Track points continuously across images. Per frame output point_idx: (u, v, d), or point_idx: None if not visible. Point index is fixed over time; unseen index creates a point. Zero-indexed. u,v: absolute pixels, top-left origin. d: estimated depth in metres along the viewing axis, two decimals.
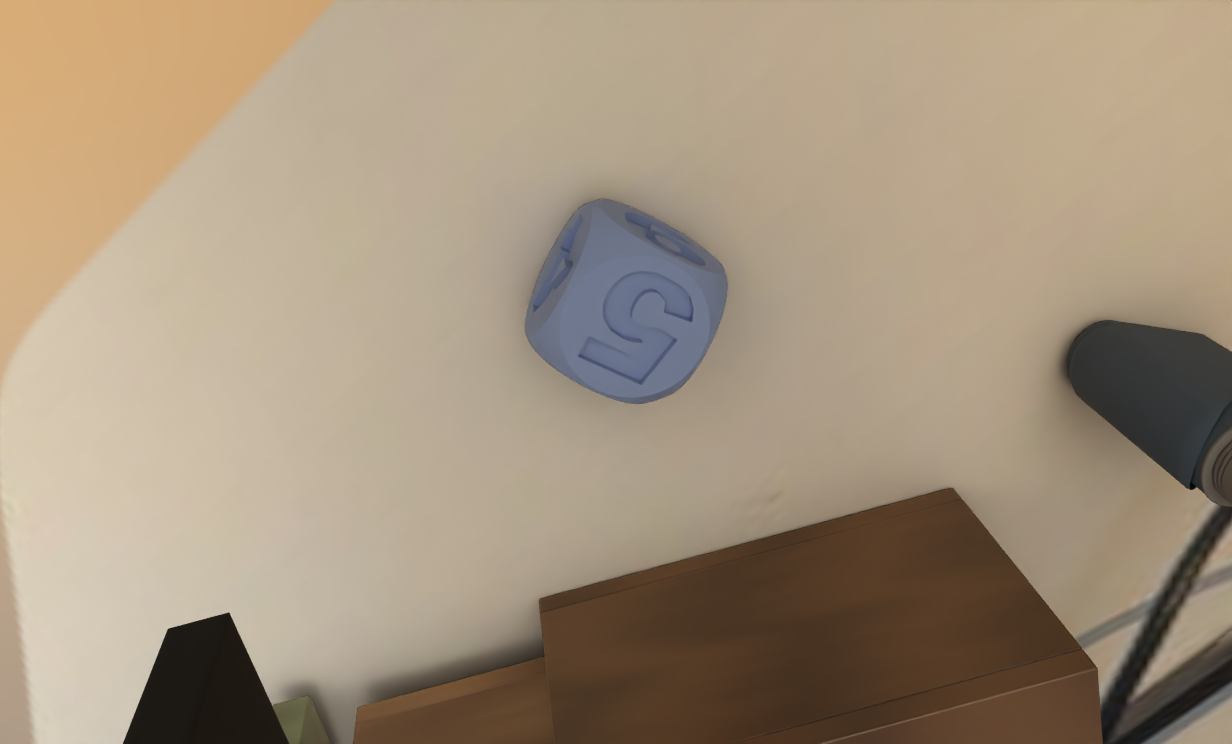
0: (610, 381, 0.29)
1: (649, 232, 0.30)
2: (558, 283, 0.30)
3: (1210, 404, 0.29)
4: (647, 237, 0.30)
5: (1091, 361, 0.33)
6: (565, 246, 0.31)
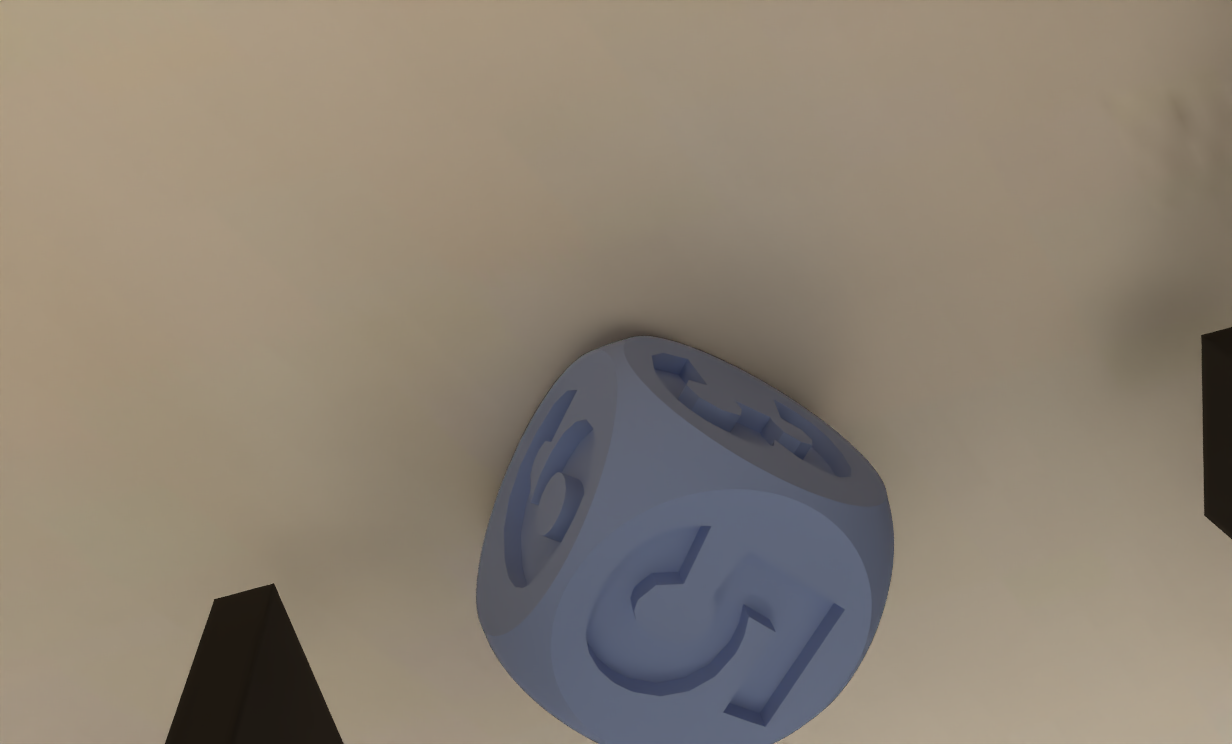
0: (828, 665, 0.14)
1: (538, 501, 0.15)
2: None
3: None
4: None
5: None
6: None
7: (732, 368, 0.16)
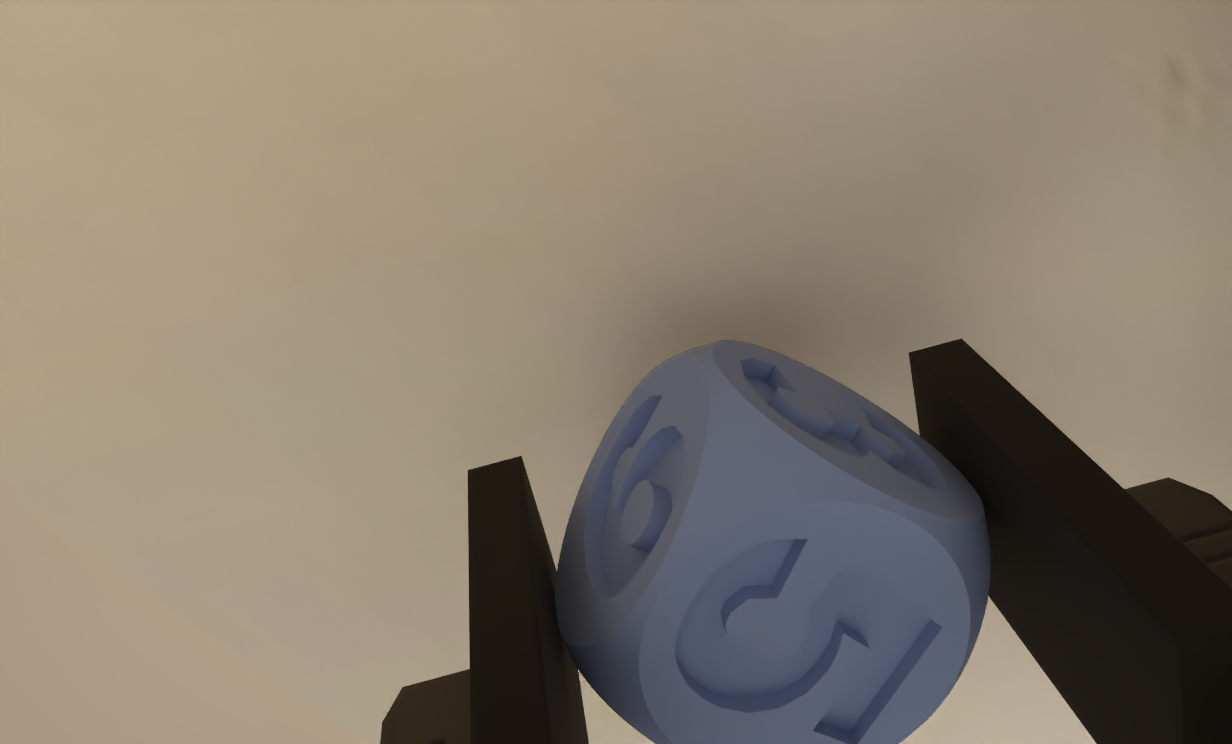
0: (923, 684, 0.13)
1: (621, 509, 0.14)
2: None
3: None
4: None
5: None
6: None
7: (818, 374, 0.16)
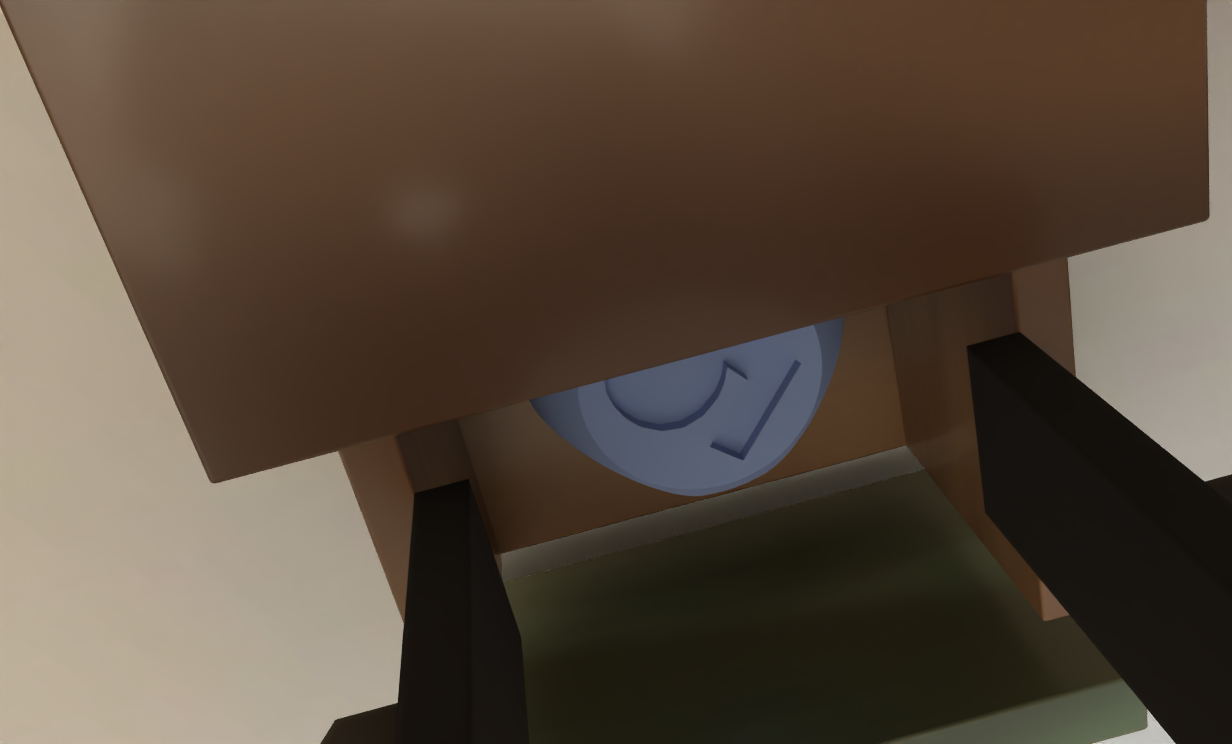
0: (790, 410, 0.18)
1: None
2: None
3: None
4: None
5: None
6: None
7: None
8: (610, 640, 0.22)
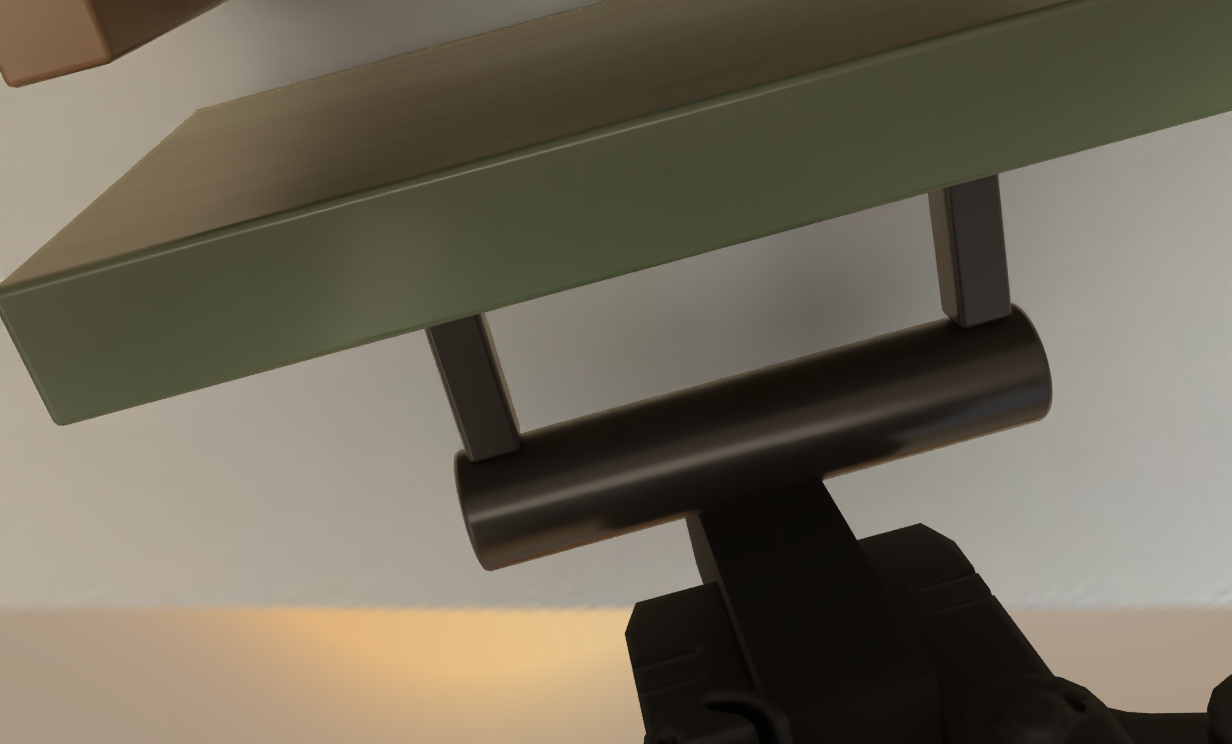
0: None
1: None
2: None
3: None
4: None
5: None
6: None
7: None
8: (420, 83, 0.12)
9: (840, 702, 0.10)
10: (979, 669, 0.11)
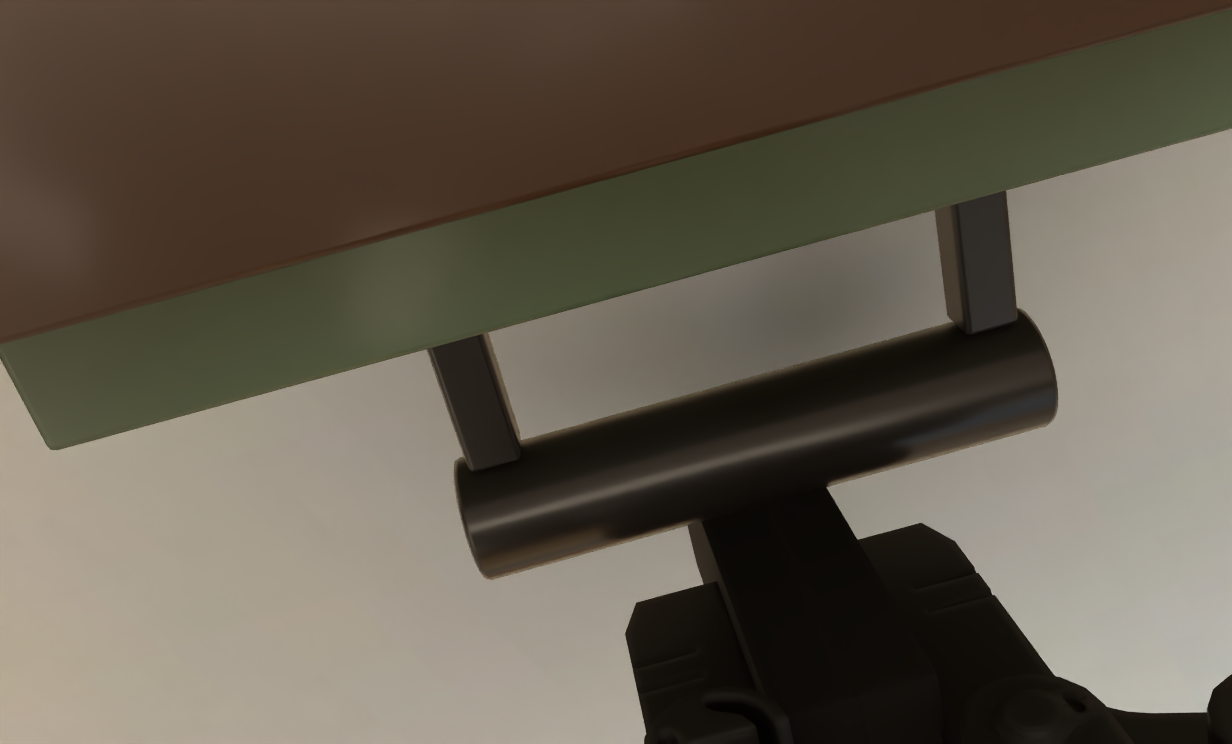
0: None
1: None
2: None
3: None
4: None
5: None
6: None
7: None
8: None
9: (840, 701, 0.10)
10: (979, 669, 0.11)
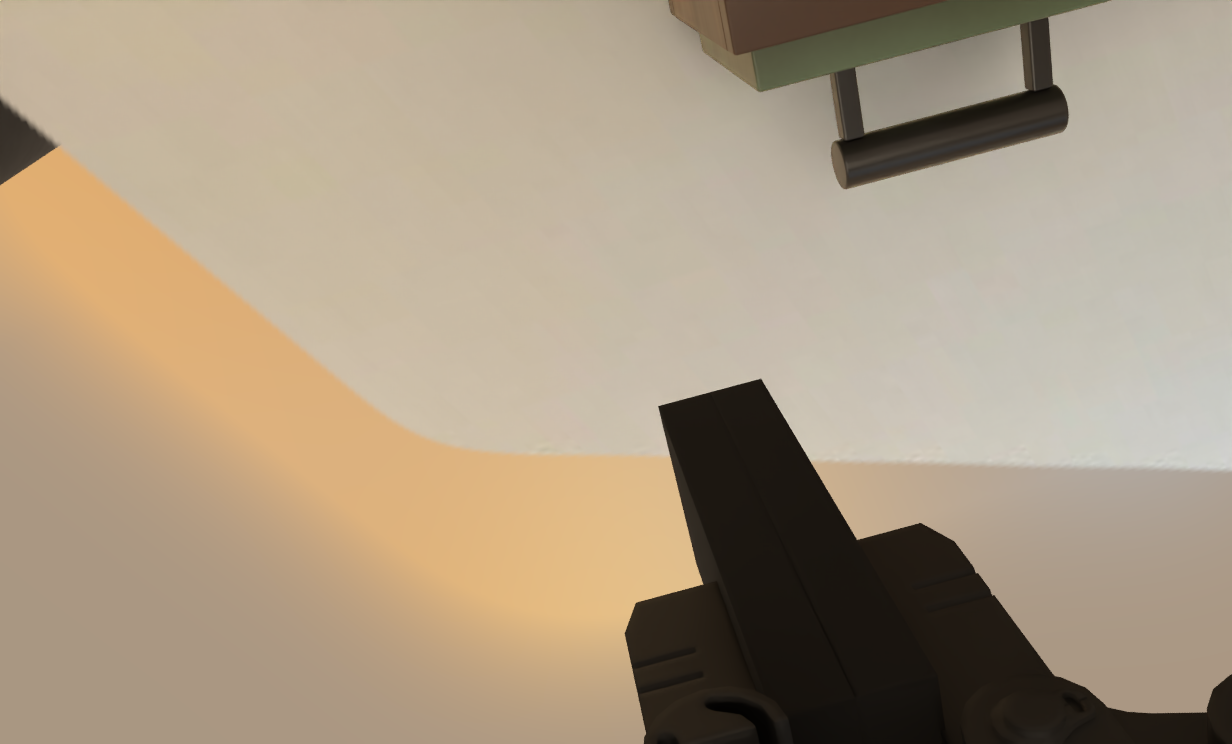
0: None
1: None
2: None
3: None
4: None
5: None
6: None
7: None
8: None
9: (840, 702, 0.10)
10: (979, 669, 0.11)
